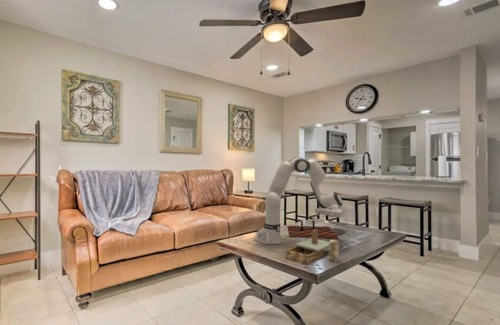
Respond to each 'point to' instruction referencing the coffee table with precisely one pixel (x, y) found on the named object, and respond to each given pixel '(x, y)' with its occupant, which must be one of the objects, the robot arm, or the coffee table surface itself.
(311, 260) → the open wooden box
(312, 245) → the lid
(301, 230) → the chessboard
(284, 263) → the coffee table surface
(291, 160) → the robot arm
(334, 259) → the tan wooden block
